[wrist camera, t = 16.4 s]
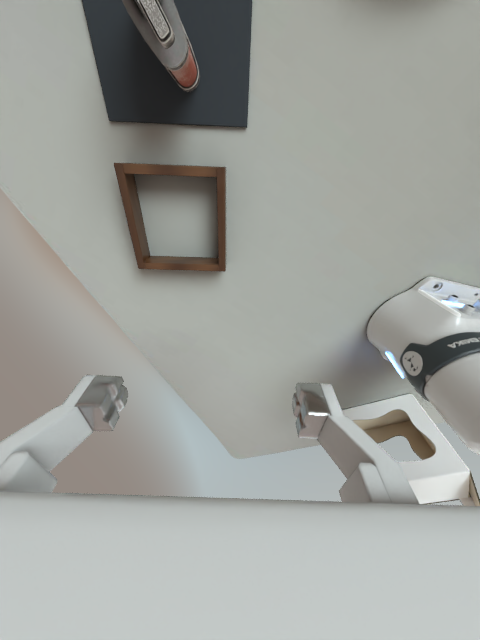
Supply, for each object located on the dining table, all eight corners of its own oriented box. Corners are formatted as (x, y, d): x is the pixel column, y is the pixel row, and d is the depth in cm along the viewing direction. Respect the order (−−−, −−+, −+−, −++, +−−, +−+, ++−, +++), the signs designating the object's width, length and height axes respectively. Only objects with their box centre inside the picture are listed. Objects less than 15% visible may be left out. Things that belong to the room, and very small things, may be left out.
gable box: (412, 392, 56) (534, 552, 33) (412, 419, 63) (514, 567, 40) (323, 414, 61) (375, 565, 38) (332, 437, 68) (381, 577, 45)
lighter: (127, -2, 21) (56, -109, 13) (154, -34, 20) (96, -171, 12) (182, 100, 25) (155, 68, 17) (207, 77, 24) (191, 32, 16)
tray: (226, 167, 29) (225, 167, 26) (226, 264, 36) (225, 271, 34) (123, 162, 29) (113, 162, 26) (145, 261, 36) (138, 268, 33)
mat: (254, -72, 19) (255, -76, 19) (246, 127, 27) (247, 127, 26) (64, -85, 19) (61, -90, 18) (110, 121, 26) (109, 120, 26)
